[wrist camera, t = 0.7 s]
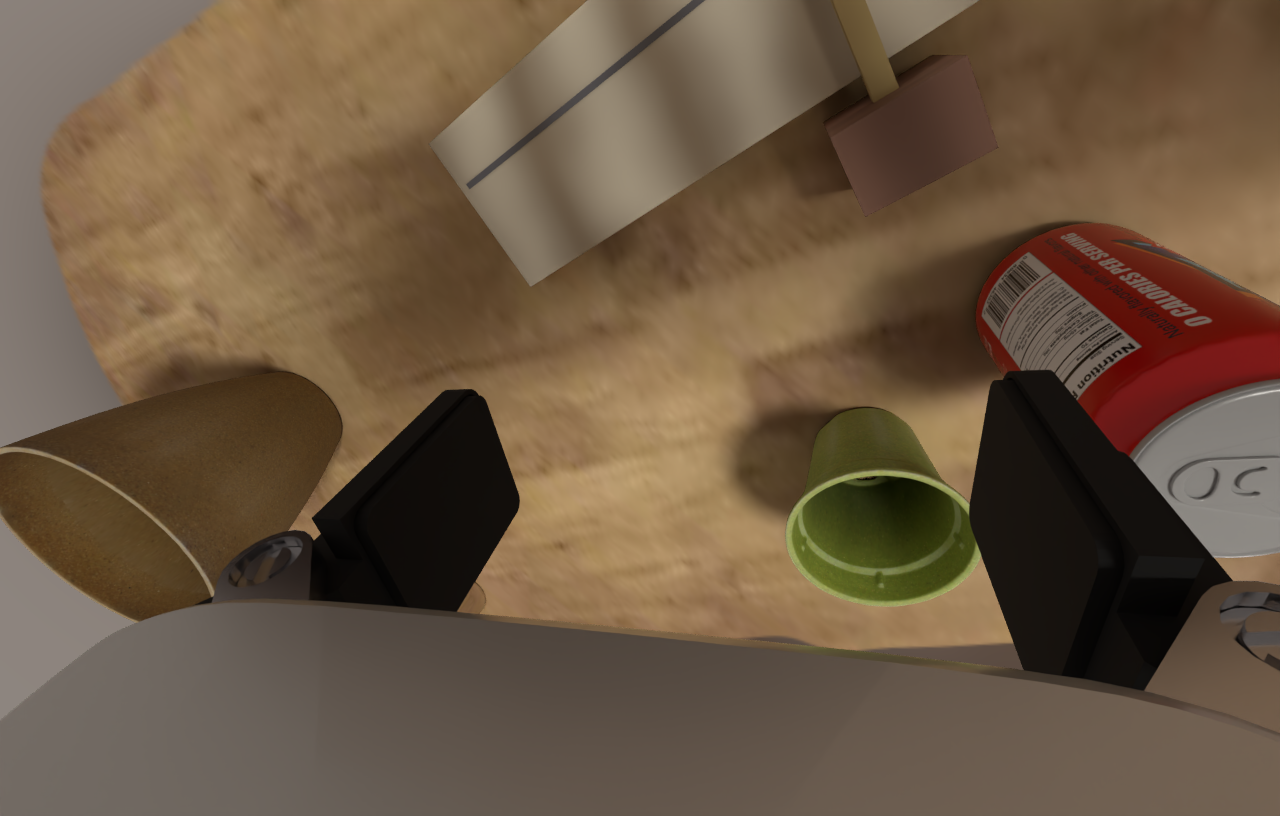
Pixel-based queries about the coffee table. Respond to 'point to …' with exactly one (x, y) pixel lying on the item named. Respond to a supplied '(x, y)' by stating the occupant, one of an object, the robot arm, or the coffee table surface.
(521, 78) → the board
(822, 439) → the plant pot
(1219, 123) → the coffee table surface
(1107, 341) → the soda can
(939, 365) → the coffee table surface
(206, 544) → the plant pot
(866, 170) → the cube with stick handle
